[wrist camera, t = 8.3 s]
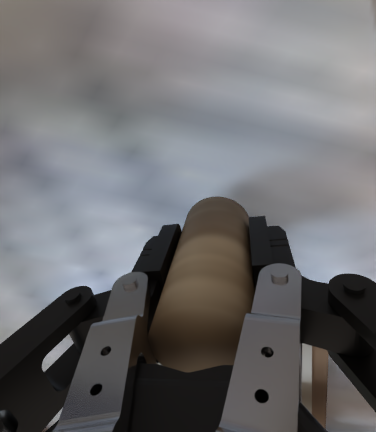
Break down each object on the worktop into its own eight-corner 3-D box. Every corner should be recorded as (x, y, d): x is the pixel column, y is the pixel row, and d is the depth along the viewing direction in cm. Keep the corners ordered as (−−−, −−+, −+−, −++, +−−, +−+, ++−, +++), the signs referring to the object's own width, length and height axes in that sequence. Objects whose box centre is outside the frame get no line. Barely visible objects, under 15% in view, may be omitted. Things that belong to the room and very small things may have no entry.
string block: (143, 204, 14) (73, 310, 8) (290, 188, 13) (338, 302, 7) (205, 421, 23) (194, 553, 17) (298, 427, 21) (323, 574, 15)
